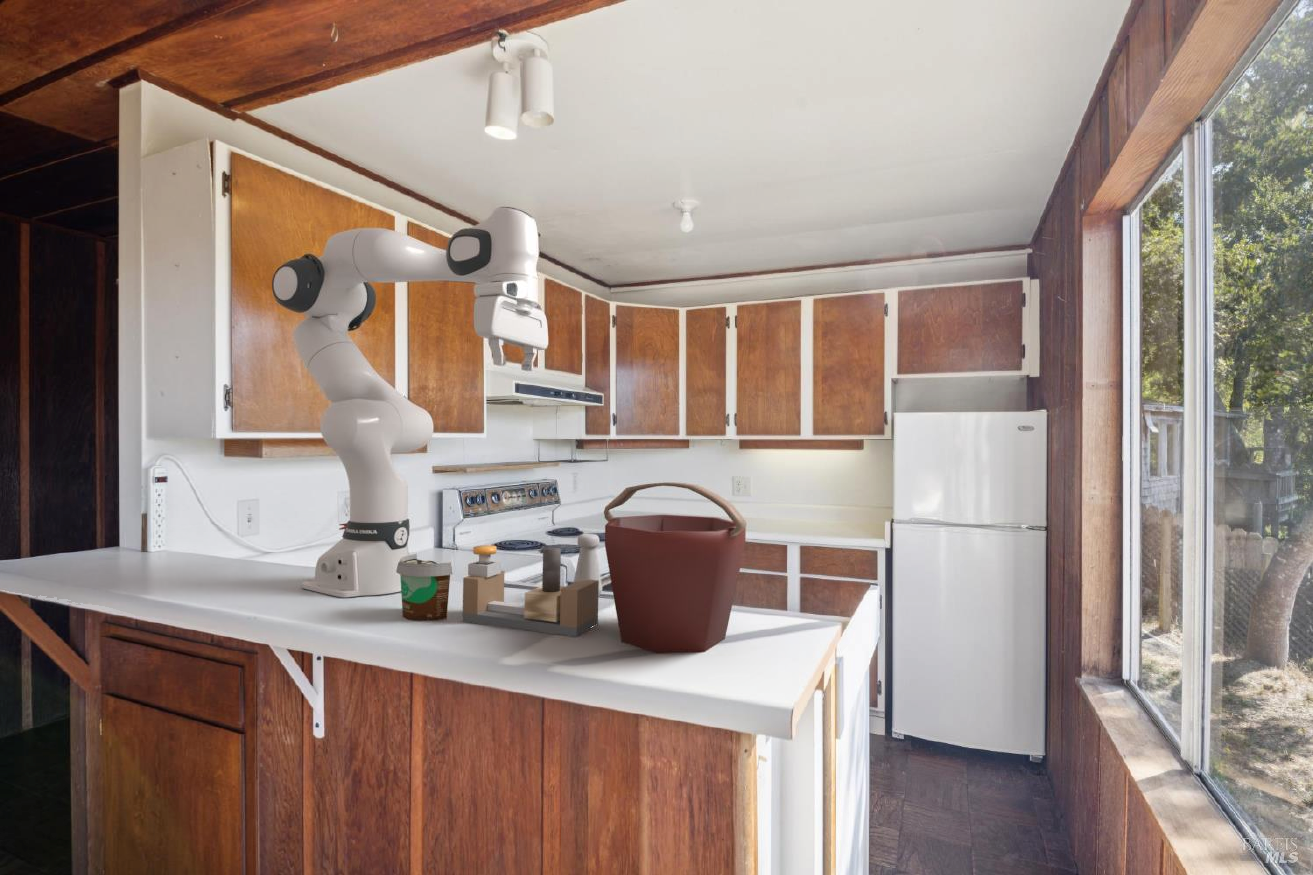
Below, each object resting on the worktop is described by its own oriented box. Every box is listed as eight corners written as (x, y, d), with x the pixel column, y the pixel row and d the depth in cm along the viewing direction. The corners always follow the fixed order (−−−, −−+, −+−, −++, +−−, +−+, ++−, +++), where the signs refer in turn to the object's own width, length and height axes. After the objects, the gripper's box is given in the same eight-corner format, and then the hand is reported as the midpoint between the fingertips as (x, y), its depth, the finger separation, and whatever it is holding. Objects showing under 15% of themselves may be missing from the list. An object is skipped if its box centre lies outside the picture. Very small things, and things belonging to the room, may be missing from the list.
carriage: (524, 617, 109) (525, 550, 109) (545, 608, 115) (546, 544, 115) (556, 622, 106) (557, 553, 106) (576, 611, 113) (577, 547, 113)
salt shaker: (597, 604, 125) (598, 537, 125) (568, 602, 126) (569, 535, 126) (605, 597, 131) (606, 533, 131) (578, 595, 132) (579, 531, 132)
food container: (382, 613, 116) (383, 557, 116) (413, 607, 121) (415, 553, 121) (418, 627, 108) (420, 567, 108) (451, 620, 113) (452, 562, 113)
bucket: (572, 633, 106) (574, 481, 106) (662, 609, 123) (664, 476, 123) (686, 672, 90) (690, 491, 90) (773, 637, 106) (776, 484, 106)
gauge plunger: (468, 565, 114) (468, 548, 114) (481, 561, 118) (482, 544, 118) (487, 567, 113) (487, 549, 113) (500, 563, 117) (501, 546, 117)
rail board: (460, 620, 112) (461, 565, 112) (487, 609, 120) (488, 558, 120) (576, 636, 105) (577, 577, 105) (597, 624, 112) (598, 568, 112)
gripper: (529, 306, 134) (528, 374, 134) (467, 284, 115) (466, 362, 115) (556, 304, 132) (555, 373, 132) (498, 281, 112) (497, 361, 112)
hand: (513, 368), depth 123 cm, fingers open, 8 cm apart
